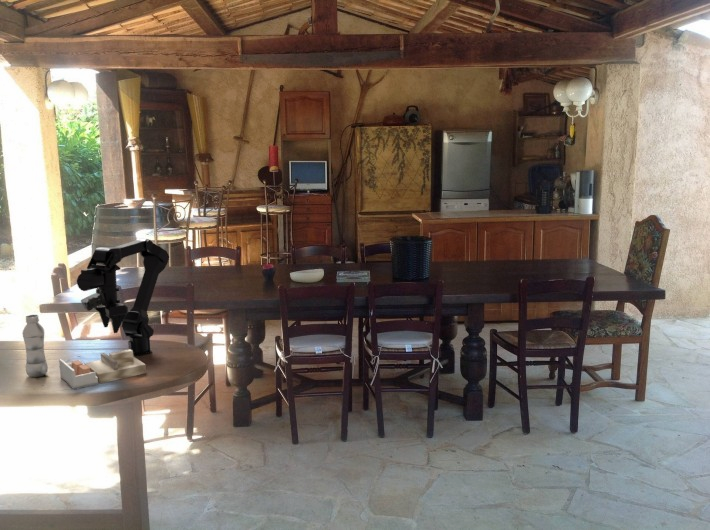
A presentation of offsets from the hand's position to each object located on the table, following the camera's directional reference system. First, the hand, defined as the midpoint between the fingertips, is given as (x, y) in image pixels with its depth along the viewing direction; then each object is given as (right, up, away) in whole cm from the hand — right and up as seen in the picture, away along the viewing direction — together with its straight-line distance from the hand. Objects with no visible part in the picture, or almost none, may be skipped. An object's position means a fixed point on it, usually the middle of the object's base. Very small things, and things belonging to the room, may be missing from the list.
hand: (110, 330), depth 217 cm
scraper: (+6, -10, -5) cm, 13 cm away
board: (+4, -13, -6) cm, 15 cm away
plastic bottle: (-20, -14, -9) cm, 26 cm away
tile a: (-5, -11, -11) cm, 17 cm away
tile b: (-1, -12, -15) cm, 19 cm away
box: (-5, -15, -13) cm, 21 cm away
